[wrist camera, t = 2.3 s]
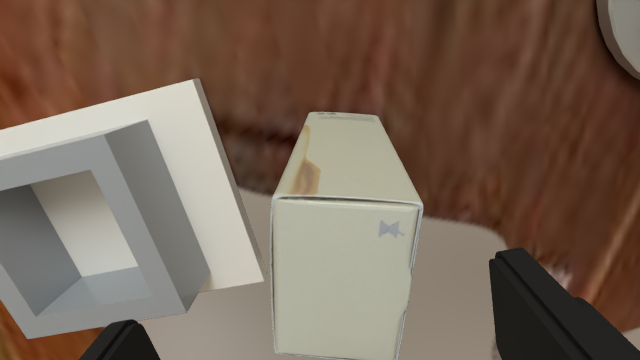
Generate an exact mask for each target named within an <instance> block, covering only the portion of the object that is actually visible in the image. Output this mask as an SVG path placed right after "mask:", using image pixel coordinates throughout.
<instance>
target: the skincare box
mask: <svg viewBox="0 0 640 360" xmlns="http://www.w3.org/2000/svg"><path fill="white" fill-rule="evenodd" d="M422 214H423V203H422V201H421V199H420V197H419V195H418V194H417V192H416V190H415V188H414V186H413V184H412V182H411V180H410V178H409V176H408V174H407V172H406V170H405V168H404V166H403V164H402V162H401V160H400V159H399V157H398V155H397V153H396V151H395V149H394V147H393V145H392V143H391V141H390V139H389V137H388V135H387V134H386V132H385V130H384V128H383V126H382V124H381V122H380V120H379V118H378V116H376V115H365V114H352V113H336V112H310V113H309V114H308V117H307V119H306V121H305V124H304V126H303V129H302V131H301V133H300V135H299V138H298V140H297V143H296V145H295V147H294V150H293V152H292V154H291V157H290V159H289V162H288V164H287V166H286V169H285V171H284V173H283V175H282V178H281V180H280V182H279V185H278V187H277V189H276V191H275V193H274V195H273V198H272V201H271V216H270V283H271V284H270V285H271V310H272V325H273V340H274V351H275V353H276V354H281V355H293V356H302V357H311V358H322V359H330V360H398V358H399V350H400V346H401V341H402V335H403V329H404V323H405V318H406V317H405V316H406V312H407V307H408V301H409V296H410V289H411V282H412V275H413V268H414V263H415V257H416V251H417V244H418V238H419V232H420V225H421V219H422Z"/></svg>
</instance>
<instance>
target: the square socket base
mask: <svg viewBox="0 0 640 360" xmlns="http://www.w3.org/2000/svg"><path fill="white" fill-rule="evenodd" d="M266 274H267V271H266V268H265V265H264V262H263V259H262V257H261V254H260V251H259V248H258V245H257V242H256V239H255V237H254V234H253V231H252V228H251V225H250V223H249V219H248V217H247V214H246V211H245V208H244V205H243V202H242V199H241V197H240V193H239V191H238V188H237V185H236V182H235V179H234V176H233V173H232V171H231V168H230V165H229V162H228V159H227V156H226V153H225V151H224V148H223V145H222V142H221V139H220V136H219V133H218V130H217V128H216V125H215V122H214V119H213V116H212V113H211V110H210V108H209V105H208V102H207V99H206V96H205V93H204V90H203V87H202V85H201V82H200V79H199V78H198V79H193V80H189V81H185V82H181V83H177V84H174V85H170V86H166V87H162V88H158V89H155V90H151V91H147V92H143V93H140V94H136V95H132V96H128V97H124V98H121V99H117V100H113V101H109V102H106V103H102V104H98V105H94V106H90V107H87V108H83V109H79V110H75V111H72V112H68V113H64V114H60V115H56V116H53V117H49V118H45V119H41V120H38V121H34V122H30V123H26V124H22V125H19V126H15V127H11V128H7V129H3V130H0V299H1V301H2V302H3V304H4V305H5V307H6V308H7V310H8V311H9V313H10V314H11V315H12V317H13V318H14V320H15V321H16V323H17V324H18V326H19V327H20V329H21V330H22V332H23V333H24V335H25V336H26V337H27V339H31V338H37V337H43V336H49V335H55V334H61V333H67V332H73V331H79V330H85V329H91V328H98V327H104V326H108V325H109V324H111V323H113V322H118V321H124V320H129V319H134V320H136V321H140V320H146V319H152V318H158V317H164V316H170V315H176V314H182V313H187V311H188V309H189V308H190V306H191V305H192V303H193V301H194V299H195V298H196V296H197V294H198V293H200V292H205V291H211V290H217V289H223V288H229V287H234V286H240V285H246V284H252V283H258V282H263V281H265V278H266Z"/></svg>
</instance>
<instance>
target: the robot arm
mask: <svg viewBox="0 0 640 360" xmlns="http://www.w3.org/2000/svg"><path fill="white" fill-rule="evenodd" d="M596 3H597V11H598V20H599V26H600V29H601V32H602V34H603V37H604V40H605V43H606V46H607V47H608V49H609V50H610V52H611V53H612V55H613V56H614V58H615V59H616V61H617V62H618V63H619V64H620V65H621V66H622V67H623V68H624V69H625V70H626V71H627V72H628V73H630V74H631V75H632V76H633V77H635V78H637V79H639V80H640V0H596ZM489 269H490V280H491V291H492V301H493V312H494V324H495V334H496V344H497V348H498V351H499V354H500V356H501V358H502V360H640V351H639V350H638V349H637V348H636V347H635V346H633V344H631V343H630V342H629V341H628V340H627V339H626V338H625V337H624V336H623V335H622V334H621V333H620V332H619V331H618V330H617V329H616V328H615V327H614V326H613V325H612V324H610V323H609V322H608V321H607V320H606V319H605V318H604V317H603V316H602V315H601V314H600V313H599V312H598V311H597V310H596V309H595V308H594V307H593V306H592V305H591V304H589V303H588V302H587V301H585V300H584V299H582V298H579V297H577V298H573V297H572V296H571V295H570V294H569V293H568V292H567V291H566V290H565V289H564V288H563V287H562V286H561V285H560V284H559V283H558V282H557V281H556V280H555V279H554V278H553V277H552V276H551V275H550V274H549V273H548V272H547V271H546V270H545V269H544V268H543V267H542V266H541V265H540V264H539V263H538V262H537V261H536V260H535V259H534V258H533V257H532V256H531V255H530V254H529V253H528V252H527V251H526V250H524V249H523V248H515V249H510V250H504V251H499V252H497V253H496V255H495V259H490V261H489ZM79 360H160V358H159V356H158V354H157V352H156V350H155V348H154V346H153V344H152V342H151V340H150V338H149V336H148V334H147V333H146V331H145V329H144V327H143V326H142V325H141V324H138V322H137V321H136V320H134V319H129V320H124V321H118V322H113V323H111V324H109V325H108V326H107V327H106V328H105V329H104V330H103V331H102V333H101V334H100V335H99V336H98V337H97V339H96V340H95V341H94V342H93V343H92V344H91V346H90V347H89V348H88V349H87V350H86V352H85V353H84V354H83V355H82V356H81V358H80V359H79Z"/></svg>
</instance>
